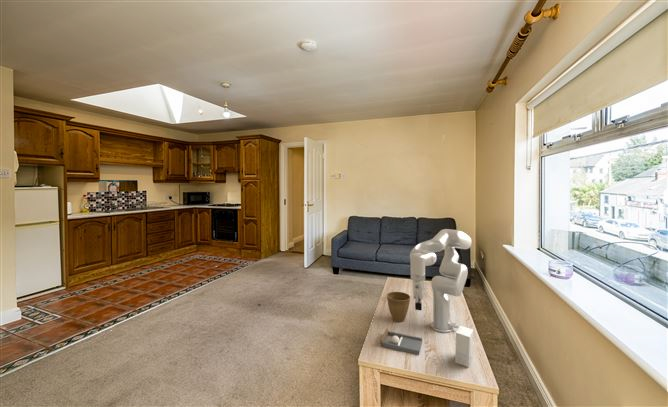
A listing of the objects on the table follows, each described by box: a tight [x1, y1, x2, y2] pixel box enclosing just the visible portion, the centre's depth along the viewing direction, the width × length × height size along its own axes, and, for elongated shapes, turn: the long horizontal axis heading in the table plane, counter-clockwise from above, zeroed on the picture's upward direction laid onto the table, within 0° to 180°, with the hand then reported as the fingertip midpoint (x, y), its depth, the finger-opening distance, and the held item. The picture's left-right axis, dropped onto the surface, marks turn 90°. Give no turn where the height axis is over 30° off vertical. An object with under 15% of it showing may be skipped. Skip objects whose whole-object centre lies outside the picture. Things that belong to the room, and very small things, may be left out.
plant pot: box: [386, 291, 411, 323], centre depth 175 cm, size 15×15×16 cm
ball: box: [392, 336, 399, 344], centre depth 149 cm, size 4×4×4 cm
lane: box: [380, 328, 423, 356], centre depth 148 cm, size 20×13×4 cm, turn 65°
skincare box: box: [454, 325, 474, 368], centre depth 132 cm, size 8×7×16 cm
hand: (418, 309), depth 146 cm, fingers closed
